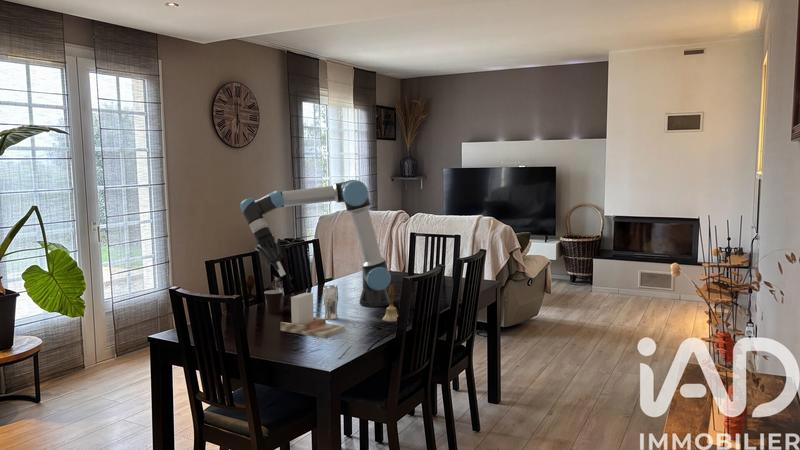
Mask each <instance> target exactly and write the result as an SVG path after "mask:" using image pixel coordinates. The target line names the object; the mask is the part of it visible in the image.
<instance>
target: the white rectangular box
mask: <svg viewBox="0 0 800 450" xmlns="http://www.w3.org/2000/svg"><path fill="white" fill-rule="evenodd" d="M290 304H291V305H290V308H291V314H290V315H291V323H292V324H299V325H304V324H307V323H309V322H312V321H314V317H315V315H314V294H313V292H304V293H303V292H302V293H299V294H297V295H294V296H290Z"/></svg>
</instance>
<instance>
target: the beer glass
mask: <svg viewBox="0 0 800 450" xmlns="http://www.w3.org/2000/svg"><path fill="white" fill-rule="evenodd" d="M322 289H323V290H322V299H323V304H324V305H323V306H324V311H325V312H324V313H325V314H324V319H326V320H327V321H335V320H338V318H339V317H338V304H339V303H338V302H339V290H338V289H339V288H338V285H332V284H331V285H324V286H323V288H322Z"/></svg>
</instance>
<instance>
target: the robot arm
mask: <svg viewBox="0 0 800 450" xmlns="http://www.w3.org/2000/svg"><path fill="white" fill-rule="evenodd" d="M330 202H336V203H344V204H345V208H346V209H345V210H346V212H348V213H349V214H351V218H352V223H353V225H354V230H355V233H356V236H357V240H358V243H359V244H358V245H359V248H360V251H361V254H362V255H361V256H362V259H363V260H362V262H361V263H362V264H361V267H362V290H361V294H360V297H359V305H360V306H363V307H369V308H370V307H371V308H373V307H375V308H377V307H379V308H380V307H385V306H387V305H390V298H389V293H388V292H387V287H388V286H390V283H391V280H392V276H391V273H390V270H389V269H388V265H387V262H386V259H385V258H384V257H382V255H381V252H380V251H381V250H380V248H379V243H378V239H377V235H376V232H375V228H374V225H373V222H372V217H371V215H370V210H369V209H370V207H371V202H370V197H369V190H368V187H367V185H366V184H365V183H364V182H362V181H360V180H356V179H350V180H346V181H343V182H338V183H337V182H336V183H334V184H333V185H329V186H321V187H320V186H319V187H312V188H304V189H303V188H302V189H294V190H285V191H280V190H275V191H271V192H268V193H267V194H266V195H264V196H263V197H261V198H259V199H255V198H253V197H249V198H246V199H244V200H242V201H241V202H240V203H239V207H240V209H241V212H242V214H243V216H244V218H245V220H246V222H247V225H248V226H249V228H250V230H251V232H252V233H253V237H254V238H255V240H256V241H257V246H255V248H254V251H256V252H257V253H259V255H260V256H261V257H262V258H263V260H265V262H266V263H267V264H268V265H271V266H273V268H274V269H275V271H277V272H278V274H279V276H280V277H284V276H285V275H286V272H285V269H284V264H283V262H282V260H283V259H284V258H285V257H284V254H283V249H282V245H281V238H275V236H273V233H272V231H271V230H270V227H268V223H267V221H266V219H265V217H264V215H266V214H268V213H271V212H272V211H274V210H277V209H279V208H285V207H294V206H301V205H310V204H311V205H313V204H320V203H330Z"/></svg>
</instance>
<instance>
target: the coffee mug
mask: <svg viewBox="0 0 800 450" xmlns="http://www.w3.org/2000/svg"><path fill="white" fill-rule="evenodd" d="M264 299H265V305H266V312H267V313H268V314H270V315H272V314H273V315H275V314H279V313H281V312H282V301H283V290H282V289H271V290H266V291H264Z"/></svg>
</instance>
